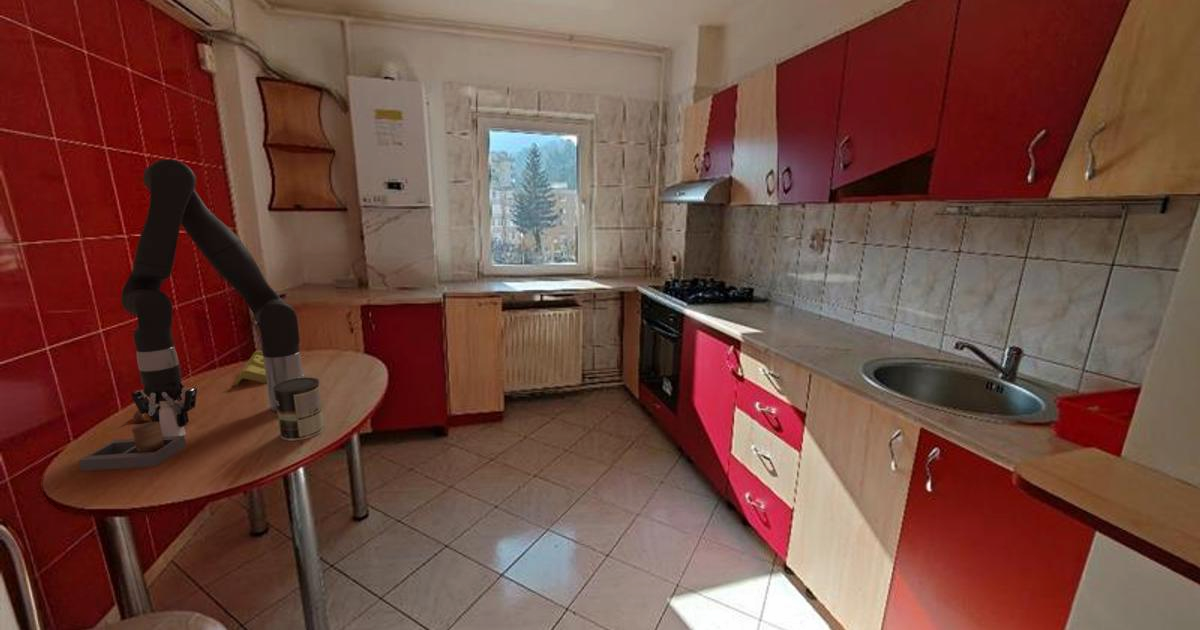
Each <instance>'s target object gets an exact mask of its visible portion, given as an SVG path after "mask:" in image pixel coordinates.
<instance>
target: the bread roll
mask: <svg viewBox="0 0 1200 630" xmlns="http://www.w3.org/2000/svg"><path fill="white" fill-rule="evenodd" d="M144 407H145V406H144ZM132 420H133V422H134V423H135V424H137V425H140V424H143V423H148V422H152V420H151V416H150V415H149V414H146V413H144V414H141V413H140V411H139V409H137V410H136V411H135V412H134V413H133V415H132Z"/></svg>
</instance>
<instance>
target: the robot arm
mask: <svg viewBox="0 0 1200 630" xmlns="http://www.w3.org/2000/svg"><path fill="white" fill-rule="evenodd" d="M142 180H143V183H144V186H145V187H146V188H147V189H148V191H149V192H150V199H149V200H150V202H149V207H148V213H147V217H146V220H145V222H144V225H143V229H142V231H141V233H140V236H139V239H138V243H137V245H136V250H135V255H134V259H133V260H134V261H133V266H132V267H133V268H132V270H131V273H130V274H129V276H128V278H127V280H126V282H125V285H124V287H123V288H122V289H123V290H122V292H121V299H120V300H121V305H122V307H123V309H124V310H125V311H126V312H128V313H129V314H131V315H133V316H136V317H137V327H136V328H135V329H134V330H133V341H134V345H135V349H136V350H135V351H136V361H137V362H136V363H137V367H138V372H139V377H140V381H141V382H140V383H141V385H142V386H143V389H139V390H136V391H134V392H132V393H131V394H130V396H131V398H132V399H133V402H134V403H135V405H136V407H137V410H139V411H140V413H141V414H144V413H146V414H149V415H150V416H151V420H152V422H160V420H159V409H161V406H160V403H159V402H160V401H167V402H168V404H169V405H170V407H172V408H174V410H175V411H176V413H177V420H178V425H179V427H184V428H185V427H186V426H187V425H188V423H189V422H190V419H189V415H188V412H189V411H191V410H192V409H194V408H195V407H196V402H197V392H198V389H197V387H195V386H193V387H191V388H190V387H185V386H184V384H182V371H181V367H180V363H179V362H180V361H179V357H178V353H177V351H176V350H177V349H176V347H175V344H174V338H173V334H172V325H173V323H172V322H173V305H172V301H171V299H170V297H169V295H168V294H167V293H166V292H164V291H162V290H161V287H162V284H163V281H166V280H168V279H169V278H170V277H171V275H172V272H173V267H174V263H175V257H176V250H177V246H178V239H179V233H180V229H181V226H182V227H183V229H184V230H185V232H186V233H187V235H188V236H189V238H190V239H191V240H192V242H193V243H194V244H195V246H196V247H197V248H198V250H199V251H200V253H201V254H202V256H203V257H204V258H205V260H207V261H208V263H209V264H210V265H211V267H213V269H214V270H215V271H216V272H217V274H219V275H220V277H222V278H223V279H224V280H225V281H226V283H228V284H229V285H230V286H231V287H232V288H234V289H235V291H236V292H237V293H238V294H239V295H240V296H241V297H242V299H243V300H244V302H245V303H246V305H247V306H248V307H249V309H250V311H251V313H252V314H253V316H254V317H255V319H256V321H257V323H258V324H259V329H260V330H259V331H260V338H261V351H262V353H263V360H264V366H265V373H266V379H267V383H266V384H267V393H268V397H269V404H270V410H271V411H272V412H274V413H277V406H276V399H275V393H274V390H273V387H274V386H275V385H277V384H279V383H281V382H283V381H287V380H290V379H296V378H307V374H306V373H305V372H304V373H303V366H302V360H301V359H302V358H301V353H300V339H301V338H300V331H299V323H298V322H299V321H298V316H297V313H296V310H295V309H294V307H292V306H291V305H290V304H288V303H287V302H285V300H283V298H281V297H280V295H279V294H278V293H277V292H276V291H275V290H274V289H273V288H272V287H271V286H270V285H269V283H268V282H267V280H266V279H265V277H264V276H263V273H262V272H261V270H260V267H259V265H258V263H257V262H256V260H255V258H254V257H253V256H252V254H251V253H250V251H249V250H248V249H247V247H246V246H245V244H244V243H243V242H242V241H241V239H240V238H239V236H238V235H236V233H235V232H234V231H233V230H232V229H231V228H230V227H229V226H228V225H226V224H225V223H224V222H223V221H222V220H220V219H219V218H218V216H216V215H215V214H214V213H212V211H211V210H210V209H209V208H208V207H207V205H206V204H205V203H204V201H203V200H202V199H201V197H200V196H199V194H198V192H197V191H196V186H197V177H196V175H195V173H194V171H193V170H192V169H191V167H189V166H188V165H187V164H185V163H184V162H182V161H179V160H176V159H169V158H167V159H160V160H157V161H154V162H153V163H151V164H150V165H148V166H147V167H146V168H145V169H144V171H143V174H142ZM182 394H183V395H182ZM148 398H149V399H148ZM144 406H145V407H144Z"/></svg>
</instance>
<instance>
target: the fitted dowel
mask: <svg viewBox="0 0 1200 630" xmlns="http://www.w3.org/2000/svg"><path fill="white" fill-rule="evenodd" d="M131 430H132V434H133V435H132V436H133V438H134V440H135V444H136V449H137V453H145V452H156V451H158V450H159V449H161V448H162V447H164V446H165V445H164V440H163V435H162V430H161V426H160V422H148V423H143V424H137V425H135V426H133V427H132V429H131Z"/></svg>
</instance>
